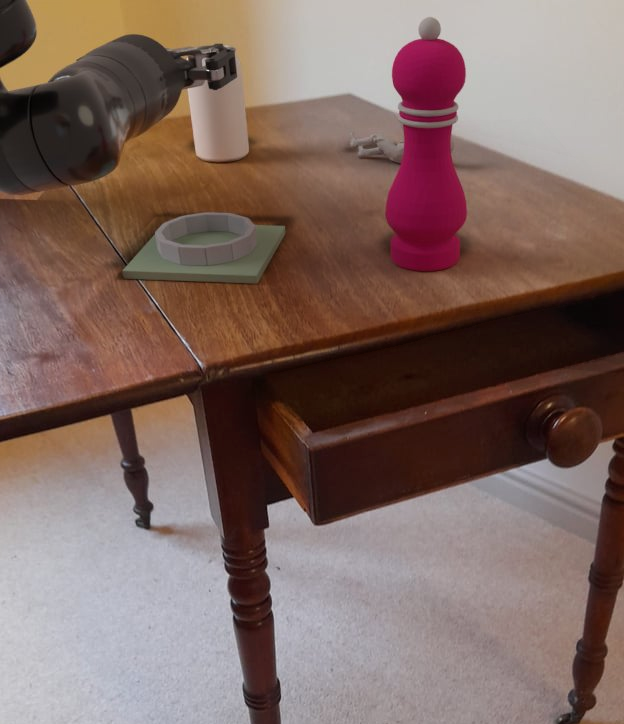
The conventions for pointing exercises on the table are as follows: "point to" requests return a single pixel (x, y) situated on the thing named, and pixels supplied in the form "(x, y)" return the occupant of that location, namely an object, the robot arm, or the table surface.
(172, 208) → the table surface
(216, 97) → the can
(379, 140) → the soldier figure
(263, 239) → the dock pad
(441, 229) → the pepper mill
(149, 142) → the table surface
